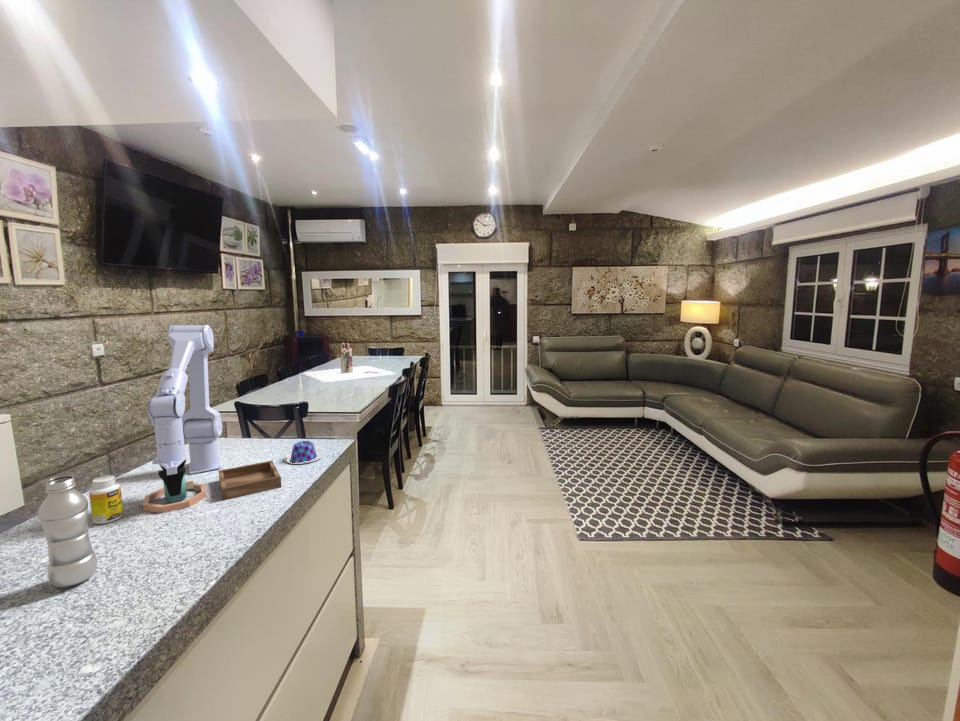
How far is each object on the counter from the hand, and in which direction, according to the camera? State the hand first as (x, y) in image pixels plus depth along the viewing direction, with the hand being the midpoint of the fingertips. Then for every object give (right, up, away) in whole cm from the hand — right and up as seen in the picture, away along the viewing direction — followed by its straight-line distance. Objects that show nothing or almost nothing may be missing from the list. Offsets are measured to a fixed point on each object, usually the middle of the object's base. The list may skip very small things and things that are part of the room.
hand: (175, 491), depth 109 cm
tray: (+14, -1, +10) cm, 17 cm away
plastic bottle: (+4, -7, -31) cm, 32 cm away
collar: (0, -2, 0) cm, 2 cm away
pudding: (+21, +1, +29) cm, 36 cm away
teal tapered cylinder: (0, -2, 0) cm, 2 cm away
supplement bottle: (-9, -4, -9) cm, 14 cm away
